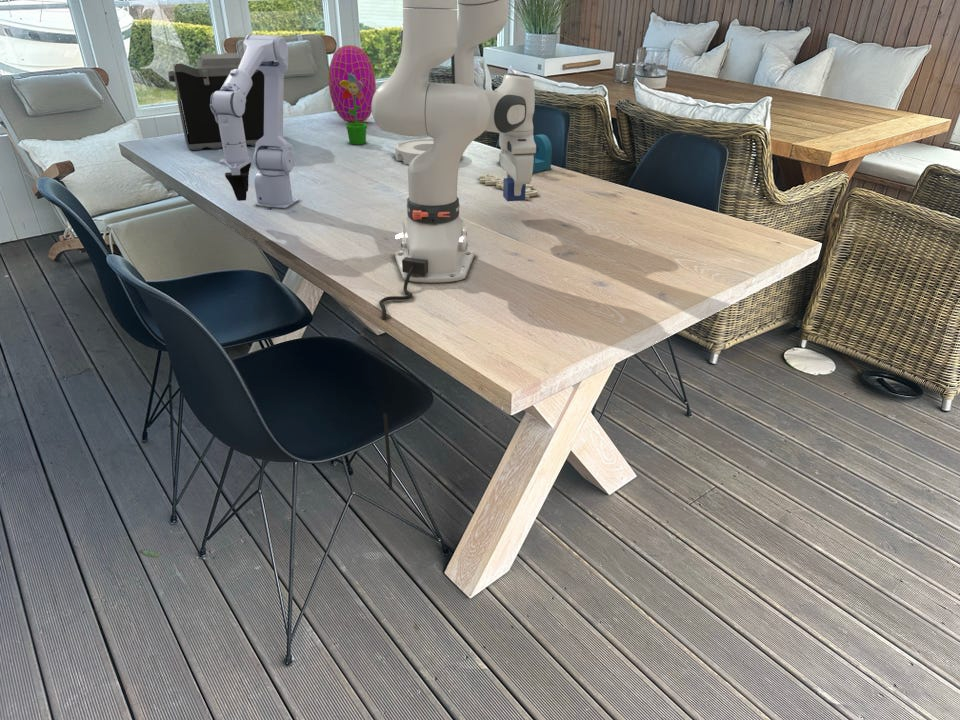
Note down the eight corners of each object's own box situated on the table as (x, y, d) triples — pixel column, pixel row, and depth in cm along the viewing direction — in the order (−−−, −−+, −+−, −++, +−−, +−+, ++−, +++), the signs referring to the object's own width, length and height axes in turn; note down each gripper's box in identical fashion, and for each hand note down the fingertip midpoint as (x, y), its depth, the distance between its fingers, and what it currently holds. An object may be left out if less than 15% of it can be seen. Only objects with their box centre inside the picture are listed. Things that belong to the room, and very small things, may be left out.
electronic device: (279, 131, 276) (269, 50, 261) (287, 144, 259) (276, 57, 243) (182, 138, 265) (165, 53, 250) (183, 151, 247) (164, 61, 232)
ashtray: (454, 167, 232) (454, 155, 230) (388, 164, 235) (387, 152, 233) (466, 151, 252) (466, 140, 250) (404, 148, 255) (404, 137, 253)
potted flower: (342, 144, 260) (336, 73, 247) (351, 139, 266) (346, 70, 254) (365, 146, 257) (360, 74, 245) (374, 141, 264) (369, 71, 251)
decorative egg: (362, 116, 305) (357, 42, 290) (386, 123, 292) (382, 46, 277) (324, 121, 294) (316, 45, 279) (347, 129, 281) (340, 49, 266)
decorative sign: (550, 191, 207) (525, 197, 202) (550, 194, 207) (525, 200, 202) (495, 172, 225) (471, 176, 220) (495, 174, 225) (471, 179, 220)
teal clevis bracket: (550, 168, 233) (552, 137, 227) (527, 173, 227) (529, 141, 222) (515, 157, 245) (516, 127, 239) (493, 162, 239) (493, 131, 234)
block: (520, 195, 190) (521, 177, 188) (525, 200, 186) (525, 182, 183) (502, 196, 189) (503, 178, 187) (507, 201, 185) (507, 183, 183)
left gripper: (219, 136, 176) (229, 188, 183) (213, 149, 164) (224, 205, 171) (248, 135, 177) (256, 187, 184) (244, 148, 165) (253, 203, 172)
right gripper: (495, 131, 188) (494, 181, 195) (514, 149, 171) (511, 203, 178) (517, 131, 189) (515, 180, 196) (538, 148, 172) (535, 202, 179)
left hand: (242, 195), depth 178 cm, fingers open, 7 cm apart
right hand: (514, 191), depth 187 cm, fingers closed on block, 5 cm apart
